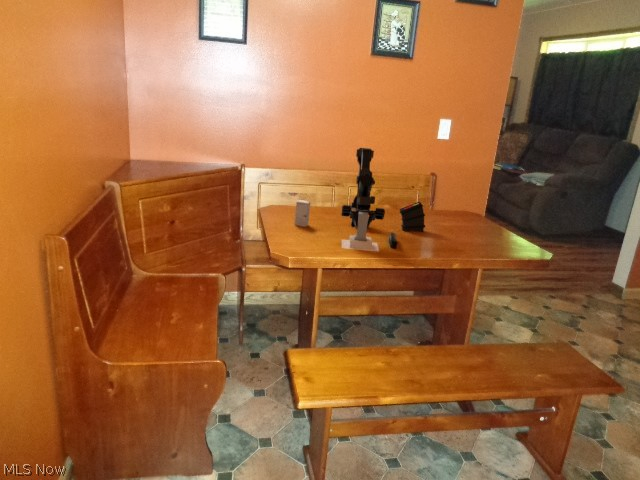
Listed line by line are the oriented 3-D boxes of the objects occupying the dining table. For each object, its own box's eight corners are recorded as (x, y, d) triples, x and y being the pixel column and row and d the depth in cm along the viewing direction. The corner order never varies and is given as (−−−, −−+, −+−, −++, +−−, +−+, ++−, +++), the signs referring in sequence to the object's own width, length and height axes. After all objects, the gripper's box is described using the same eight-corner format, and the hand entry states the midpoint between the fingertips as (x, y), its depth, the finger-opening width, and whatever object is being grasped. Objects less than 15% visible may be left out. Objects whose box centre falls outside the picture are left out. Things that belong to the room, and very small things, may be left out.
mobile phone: (398, 241, 202) (394, 230, 216) (391, 240, 202) (388, 229, 216) (396, 252, 203) (393, 240, 218) (390, 251, 203) (387, 239, 218)
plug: (355, 242, 201) (359, 213, 197) (355, 239, 205) (358, 211, 201) (365, 243, 201) (368, 214, 197) (364, 240, 205) (368, 212, 201)
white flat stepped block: (341, 250, 198) (342, 241, 197) (341, 241, 210) (342, 233, 208) (378, 253, 198) (379, 245, 197) (376, 244, 209) (377, 236, 208)
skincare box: (294, 225, 228) (295, 201, 224) (297, 223, 232) (298, 199, 228) (305, 227, 226) (307, 203, 222) (308, 224, 230) (310, 201, 226)
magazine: (430, 229, 234) (422, 202, 229) (405, 238, 235) (397, 212, 230) (428, 227, 238) (419, 201, 233) (404, 236, 238) (395, 210, 233)
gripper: (344, 186, 200) (341, 218, 193) (387, 190, 199) (386, 222, 192) (342, 200, 210) (340, 230, 203) (383, 204, 209) (382, 234, 202)
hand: (361, 229), depth 200 cm, fingers closed on plug, 4 cm apart
